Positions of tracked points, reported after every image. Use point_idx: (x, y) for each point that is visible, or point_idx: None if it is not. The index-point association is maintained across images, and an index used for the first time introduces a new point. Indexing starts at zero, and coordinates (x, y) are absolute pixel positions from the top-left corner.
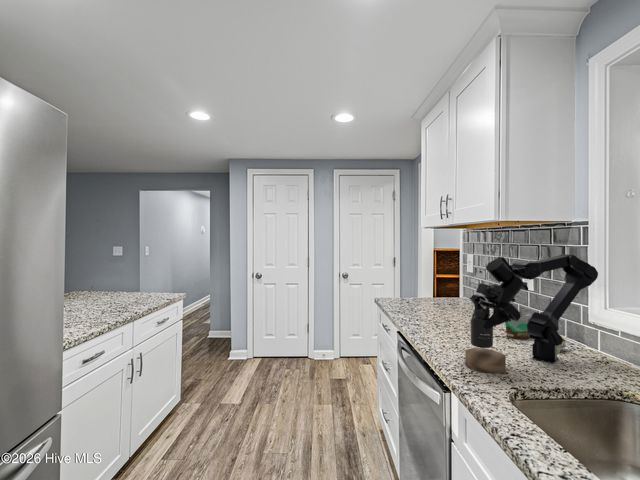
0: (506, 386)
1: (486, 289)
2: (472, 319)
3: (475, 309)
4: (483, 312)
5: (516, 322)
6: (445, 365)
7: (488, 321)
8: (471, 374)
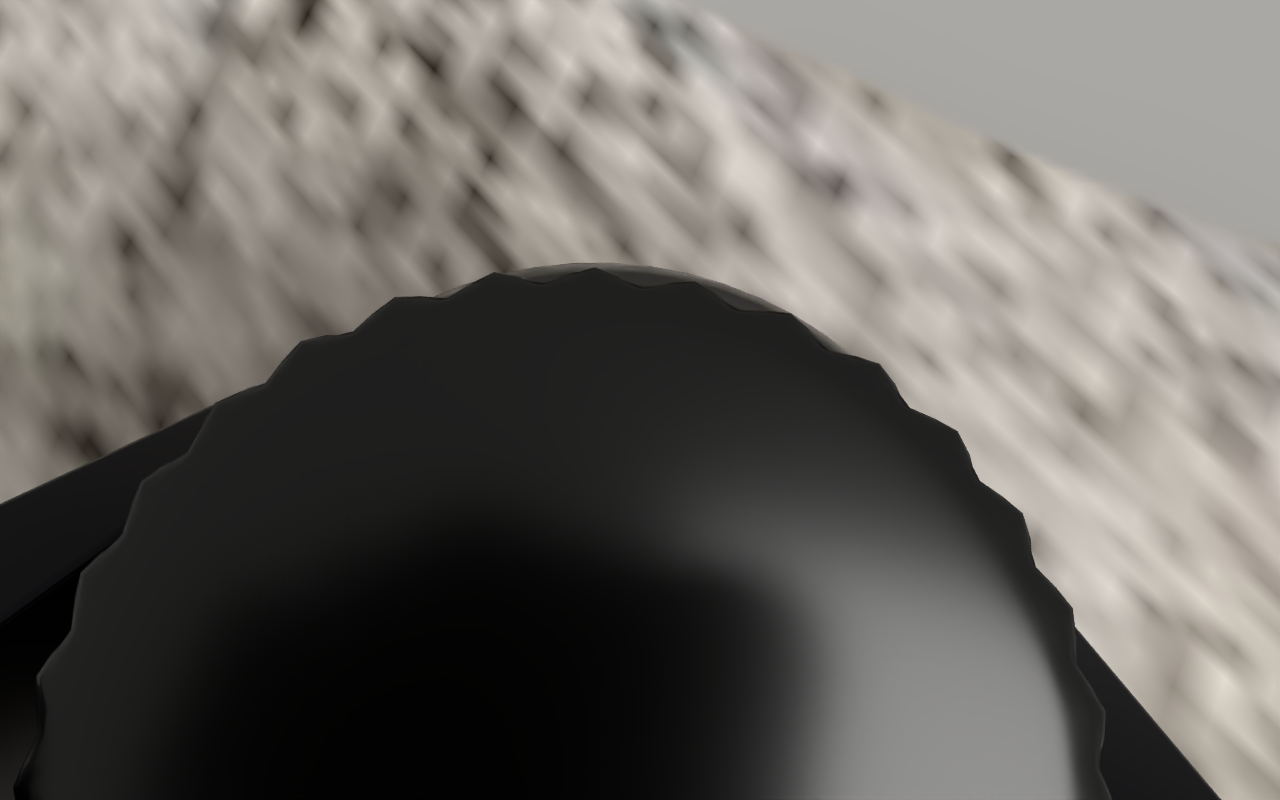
0: (16, 270)
1: None
2: (735, 296)
3: (813, 401)
4: (184, 471)
5: None
6: (783, 115)
7: (100, 504)
8: (434, 184)
